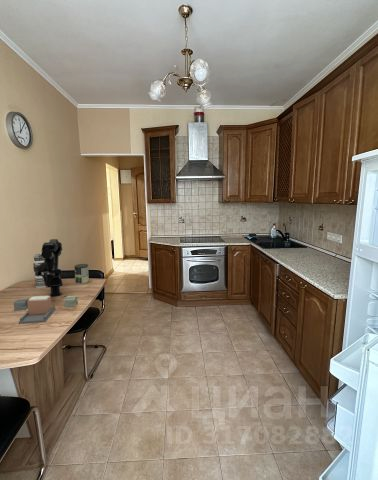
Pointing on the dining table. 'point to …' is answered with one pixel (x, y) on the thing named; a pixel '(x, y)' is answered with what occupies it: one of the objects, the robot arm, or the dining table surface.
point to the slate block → (21, 304)
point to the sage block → (70, 301)
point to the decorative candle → (39, 279)
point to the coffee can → (81, 273)
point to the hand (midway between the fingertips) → (46, 286)
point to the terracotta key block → (39, 305)
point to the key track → (36, 317)
